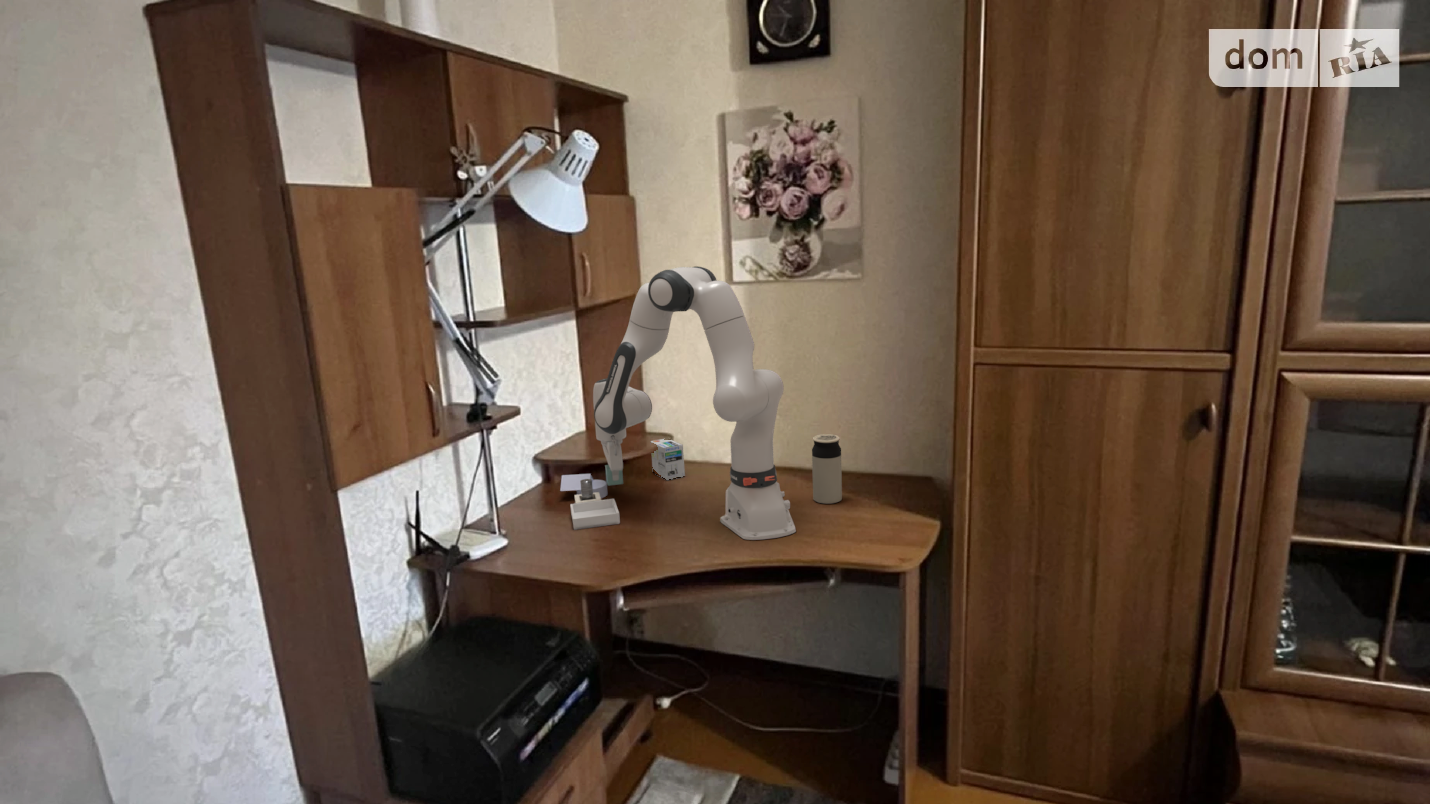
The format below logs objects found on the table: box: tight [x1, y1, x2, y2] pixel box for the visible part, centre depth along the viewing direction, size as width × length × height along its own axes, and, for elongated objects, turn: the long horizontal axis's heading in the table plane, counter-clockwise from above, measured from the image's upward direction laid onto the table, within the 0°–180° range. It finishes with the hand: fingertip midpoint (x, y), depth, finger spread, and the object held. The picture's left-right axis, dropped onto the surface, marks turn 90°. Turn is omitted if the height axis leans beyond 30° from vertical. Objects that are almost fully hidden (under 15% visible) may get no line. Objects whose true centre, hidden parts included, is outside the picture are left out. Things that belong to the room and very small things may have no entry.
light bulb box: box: [650, 438, 686, 481], centre depth 246 cm, size 11×7×11 cm, turn 30°
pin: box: [580, 479, 593, 501], centre depth 220 cm, size 3×3×8 cm
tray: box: [569, 498, 621, 531], centre depth 211 cm, size 12×12×3 cm
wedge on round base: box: [559, 473, 609, 499], centre depth 231 cm, size 9×7×13 cm
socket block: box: [574, 492, 602, 504], centre depth 220 cm, size 7×7×3 cm
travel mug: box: [811, 433, 843, 505], centre depth 215 cm, size 8×8×18 cm
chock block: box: [604, 464, 624, 487], centre depth 230 cm, size 4×4×5 cm
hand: (614, 476), depth 230 cm, fingers closed on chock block, 4 cm apart
